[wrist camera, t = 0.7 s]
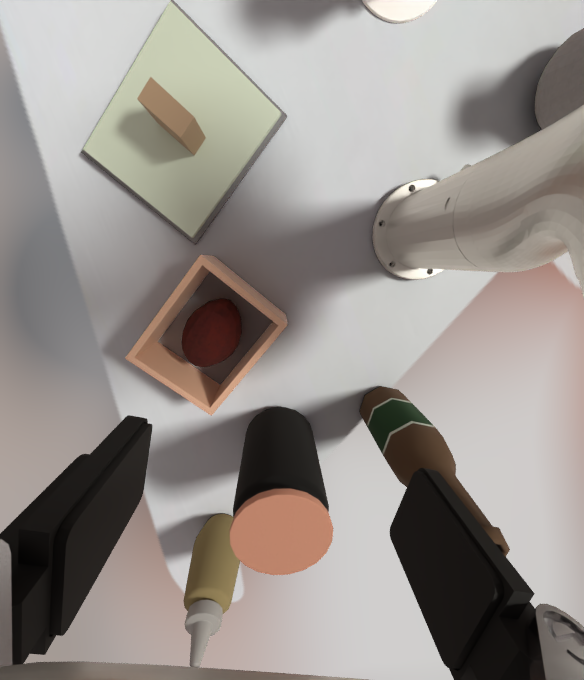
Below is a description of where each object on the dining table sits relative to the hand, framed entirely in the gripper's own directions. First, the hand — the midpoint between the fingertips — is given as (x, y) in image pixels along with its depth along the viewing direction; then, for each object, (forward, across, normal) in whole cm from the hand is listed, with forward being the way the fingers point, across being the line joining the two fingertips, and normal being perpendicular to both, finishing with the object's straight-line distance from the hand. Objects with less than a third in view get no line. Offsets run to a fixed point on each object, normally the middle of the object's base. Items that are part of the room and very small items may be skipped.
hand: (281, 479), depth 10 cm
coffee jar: (+32, -5, +19) cm, 38 cm away
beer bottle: (+32, -20, +11) cm, 39 cm away
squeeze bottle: (+32, 0, +40) cm, 51 cm away
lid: (+31, +16, -19) cm, 40 cm away
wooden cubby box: (+32, +8, +4) cm, 33 cm away
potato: (+32, +8, +4) cm, 33 cm away
